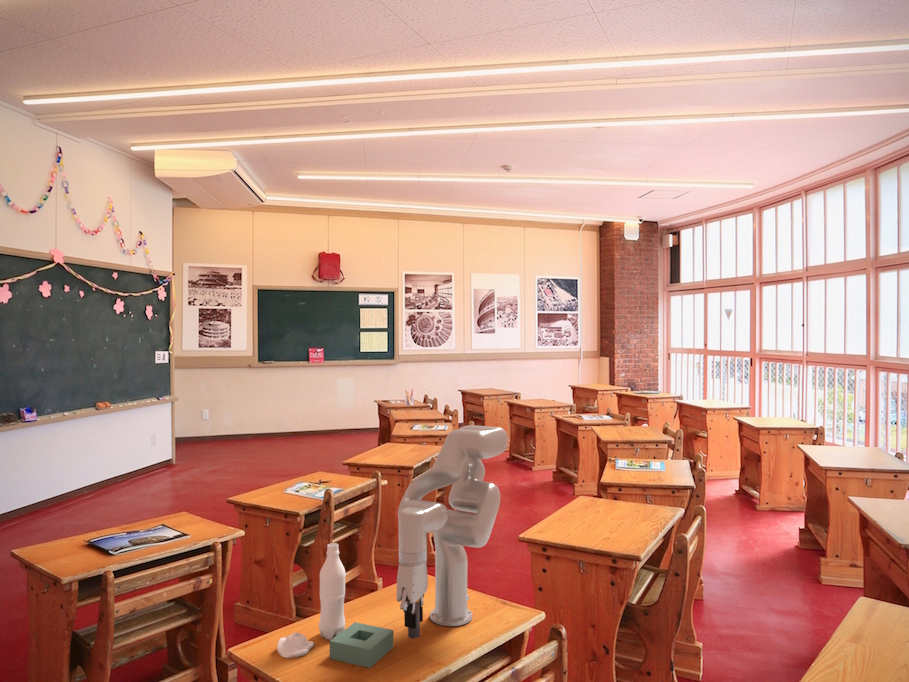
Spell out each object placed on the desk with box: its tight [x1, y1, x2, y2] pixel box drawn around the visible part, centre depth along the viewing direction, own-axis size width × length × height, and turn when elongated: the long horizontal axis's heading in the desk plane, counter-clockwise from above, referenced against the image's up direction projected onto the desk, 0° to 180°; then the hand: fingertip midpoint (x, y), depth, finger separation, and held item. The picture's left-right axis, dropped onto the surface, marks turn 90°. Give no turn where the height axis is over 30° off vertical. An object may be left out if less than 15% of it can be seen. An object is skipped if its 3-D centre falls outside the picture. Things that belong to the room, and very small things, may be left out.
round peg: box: [407, 598, 421, 640], centre depth 163 cm, size 3×3×11 cm
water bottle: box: [318, 542, 347, 641], centre depth 170 cm, size 7×7×25 cm
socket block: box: [329, 621, 394, 669], centre depth 160 cm, size 12×12×4 cm
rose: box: [276, 632, 315, 659], centre depth 162 cm, size 10×4×10 cm
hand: (413, 623), depth 163 cm, fingers closed on round peg, 3 cm apart
